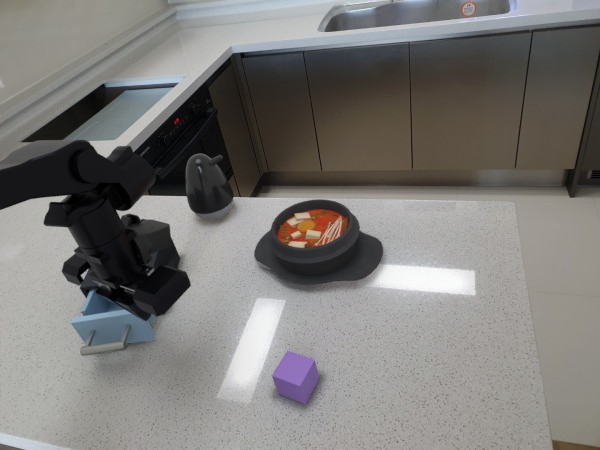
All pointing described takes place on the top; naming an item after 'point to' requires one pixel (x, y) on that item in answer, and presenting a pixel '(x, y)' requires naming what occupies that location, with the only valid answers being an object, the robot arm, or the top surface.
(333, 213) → the casserole
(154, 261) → the black drawer cabinet
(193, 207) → the pump dispenser
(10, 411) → the top surface
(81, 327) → the blue drawer
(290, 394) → the block
